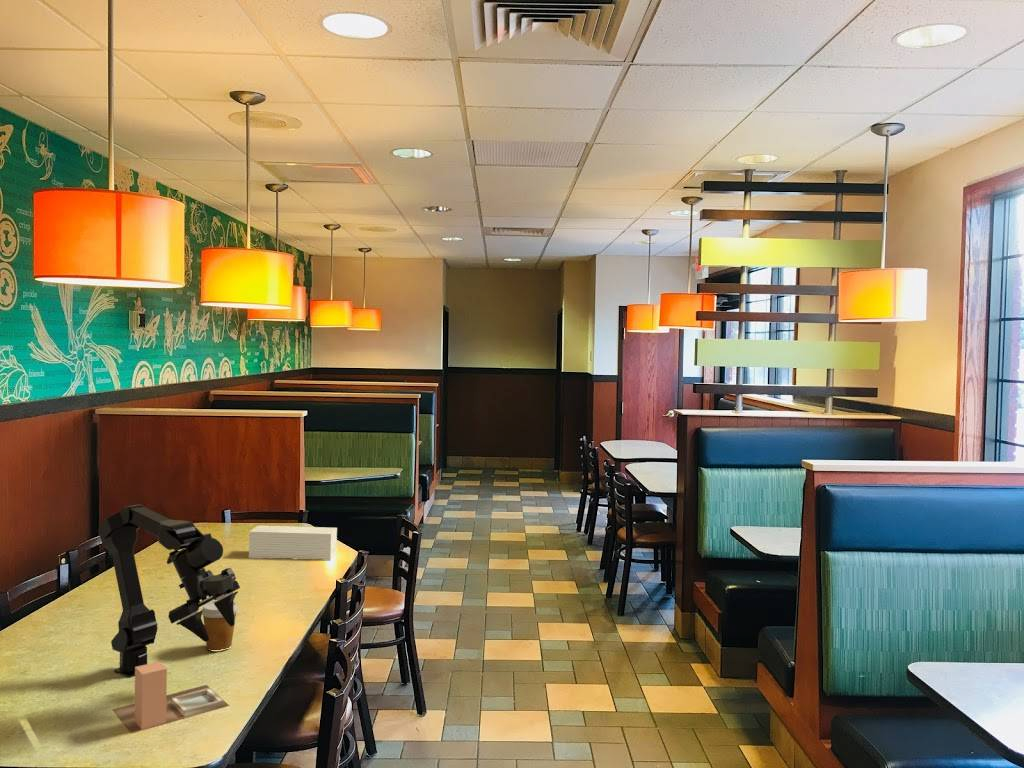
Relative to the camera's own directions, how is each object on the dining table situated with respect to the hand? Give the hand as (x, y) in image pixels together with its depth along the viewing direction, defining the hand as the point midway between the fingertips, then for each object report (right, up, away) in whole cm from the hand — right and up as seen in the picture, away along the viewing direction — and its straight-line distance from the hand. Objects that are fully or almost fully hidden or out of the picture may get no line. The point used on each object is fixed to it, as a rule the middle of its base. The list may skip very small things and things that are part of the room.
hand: (220, 633), depth 186 cm
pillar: (-10, -14, -15) cm, 23 cm away
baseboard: (-8, -15, -8) cm, 19 cm away
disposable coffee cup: (-11, -14, +30) cm, 35 cm away
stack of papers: (-18, -10, +127) cm, 128 cm away
